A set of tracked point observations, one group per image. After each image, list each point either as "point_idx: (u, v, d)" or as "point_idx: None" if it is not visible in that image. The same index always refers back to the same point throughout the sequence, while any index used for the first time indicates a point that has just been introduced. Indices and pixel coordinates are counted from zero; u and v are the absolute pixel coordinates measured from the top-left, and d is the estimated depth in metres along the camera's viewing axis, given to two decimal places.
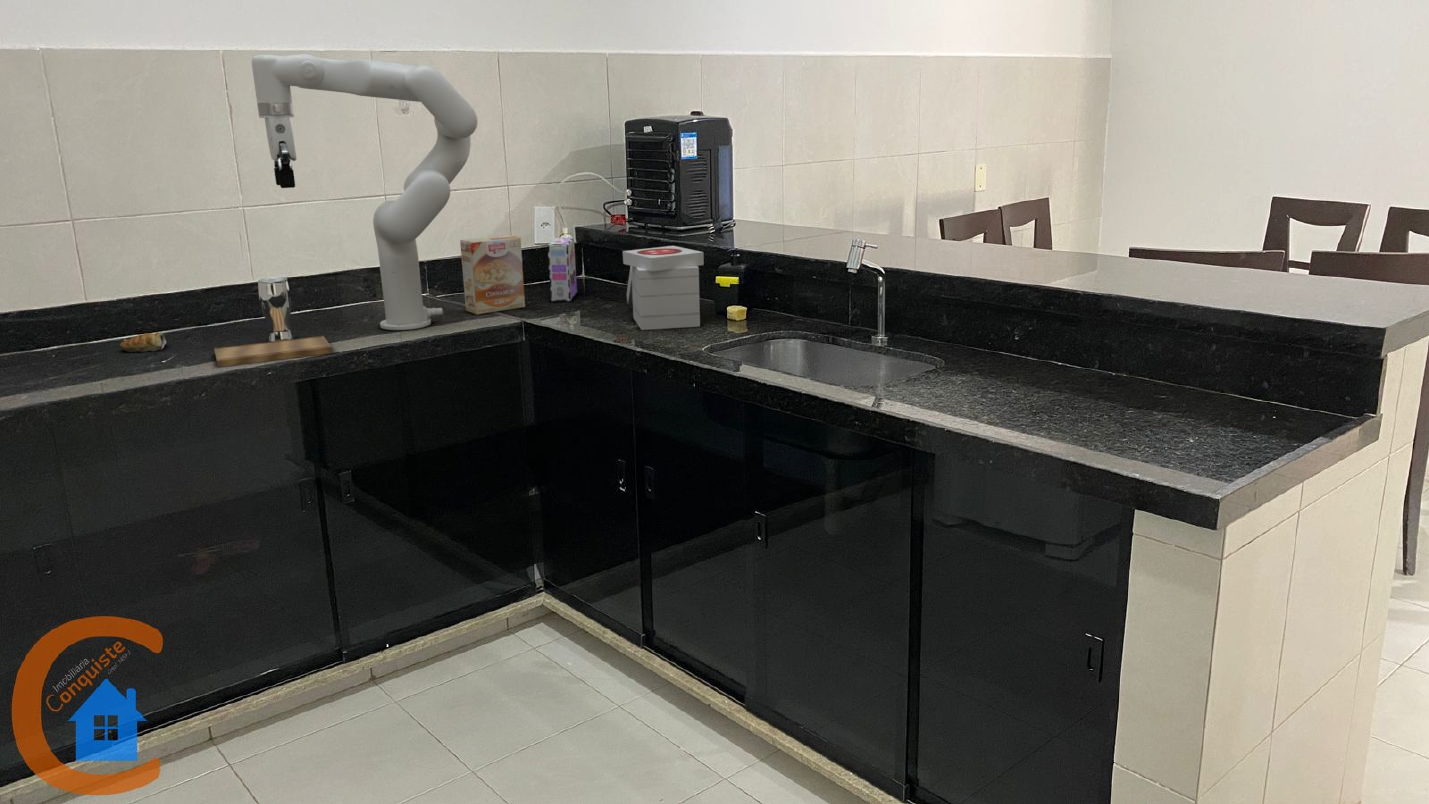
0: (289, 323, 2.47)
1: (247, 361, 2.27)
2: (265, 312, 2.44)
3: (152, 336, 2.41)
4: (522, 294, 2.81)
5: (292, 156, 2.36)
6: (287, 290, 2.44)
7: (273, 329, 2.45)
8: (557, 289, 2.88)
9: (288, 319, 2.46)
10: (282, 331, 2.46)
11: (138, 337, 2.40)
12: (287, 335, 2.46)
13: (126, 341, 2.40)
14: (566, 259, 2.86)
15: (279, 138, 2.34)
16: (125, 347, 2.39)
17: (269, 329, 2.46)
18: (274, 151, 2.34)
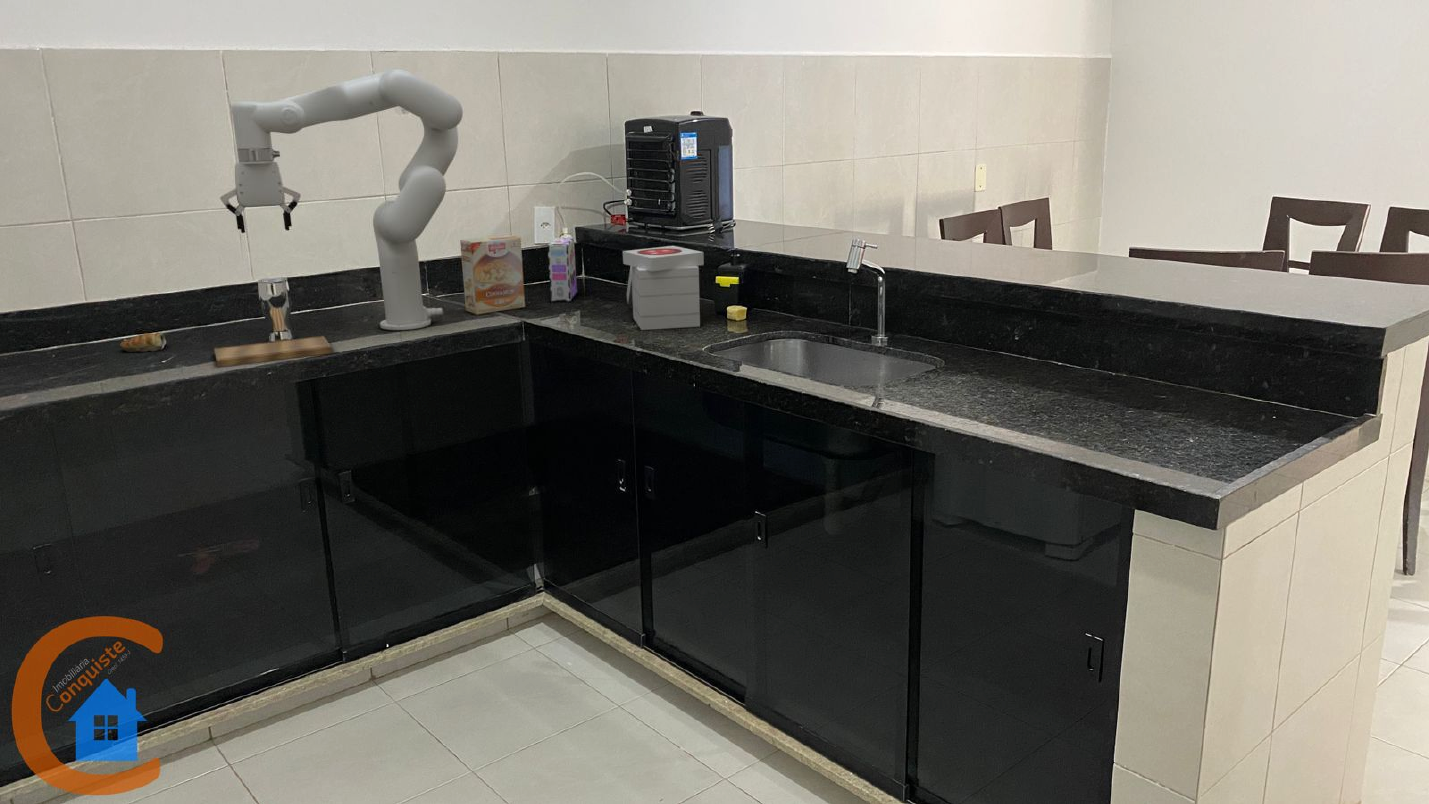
0: (289, 323, 2.47)
1: (247, 361, 2.27)
2: (265, 312, 2.44)
3: (152, 336, 2.41)
4: (522, 294, 2.81)
5: None
6: (287, 290, 2.44)
7: (273, 329, 2.45)
8: (557, 289, 2.88)
9: (288, 319, 2.46)
10: (282, 331, 2.46)
11: (138, 337, 2.40)
12: (287, 335, 2.46)
13: (126, 341, 2.40)
14: (566, 259, 2.86)
15: None
16: (125, 347, 2.39)
17: (269, 329, 2.46)
18: (283, 195, 2.39)
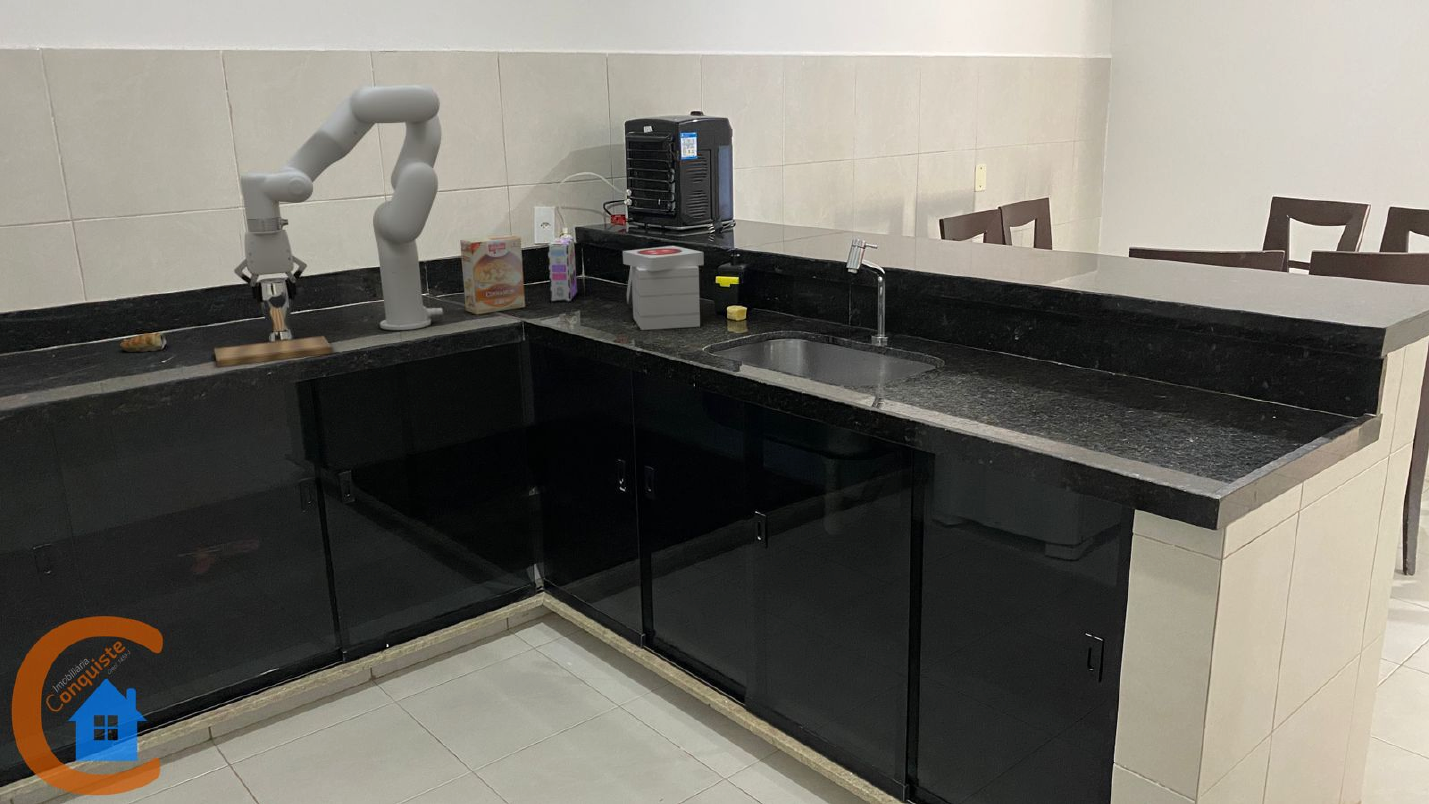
0: (289, 323, 2.47)
1: (247, 361, 2.27)
2: (265, 312, 2.44)
3: (152, 336, 2.41)
4: (522, 294, 2.81)
5: None
6: (287, 290, 2.44)
7: (273, 329, 2.45)
8: (557, 289, 2.88)
9: (288, 319, 2.46)
10: (282, 331, 2.46)
11: (138, 337, 2.40)
12: (287, 335, 2.46)
13: (126, 341, 2.40)
14: (566, 259, 2.86)
15: None
16: (125, 347, 2.39)
17: (269, 329, 2.46)
18: (292, 262, 2.43)
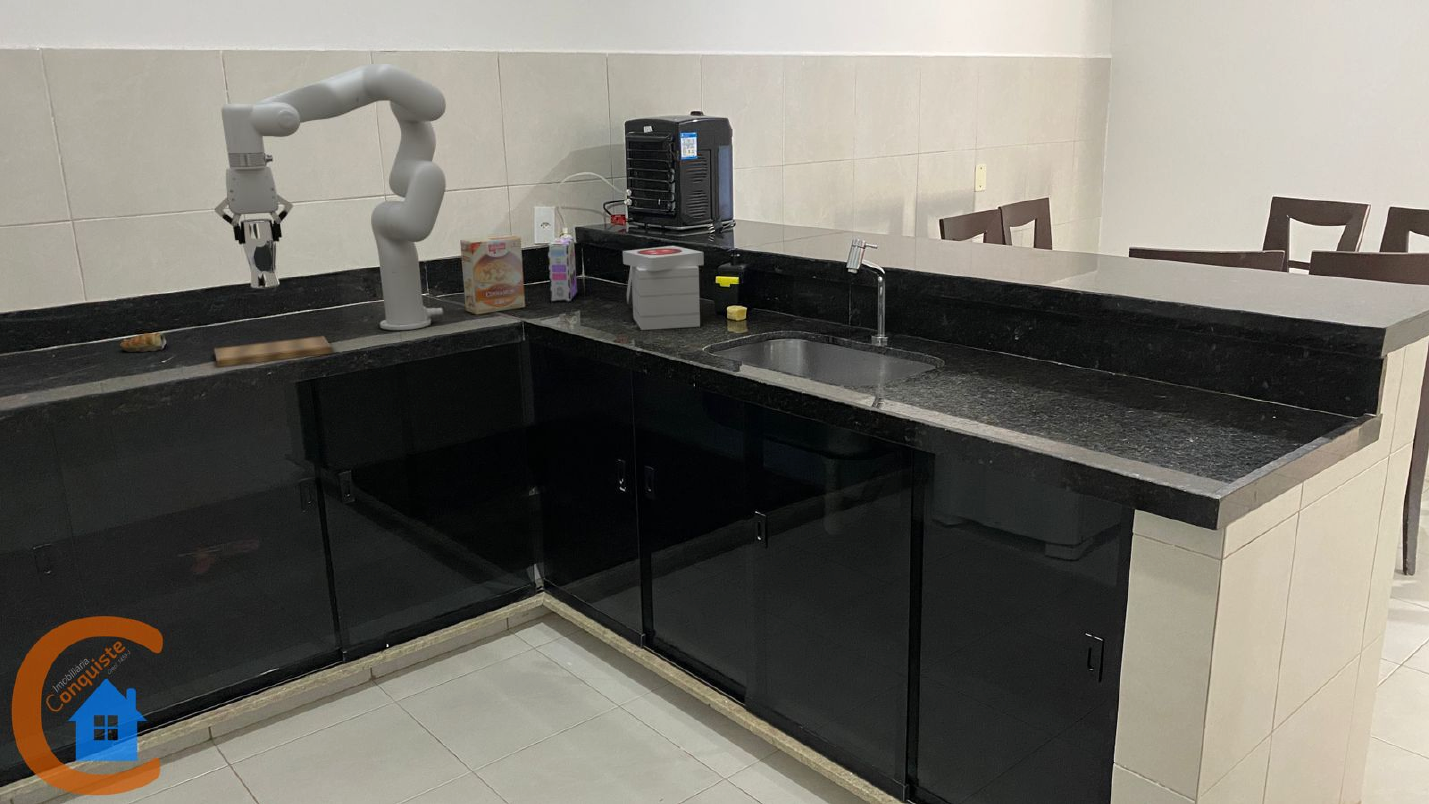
0: (274, 267, 2.32)
1: (247, 361, 2.27)
2: (248, 255, 2.29)
3: (152, 336, 2.41)
4: (522, 294, 2.81)
5: None
6: (271, 231, 2.29)
7: (256, 273, 2.30)
8: (557, 289, 2.88)
9: (272, 263, 2.31)
10: (266, 275, 2.31)
11: (138, 337, 2.40)
12: (271, 280, 2.31)
13: (126, 341, 2.40)
14: (566, 259, 2.86)
15: (275, 188, 2.29)
16: (125, 347, 2.39)
17: (252, 273, 2.30)
18: (276, 201, 2.28)
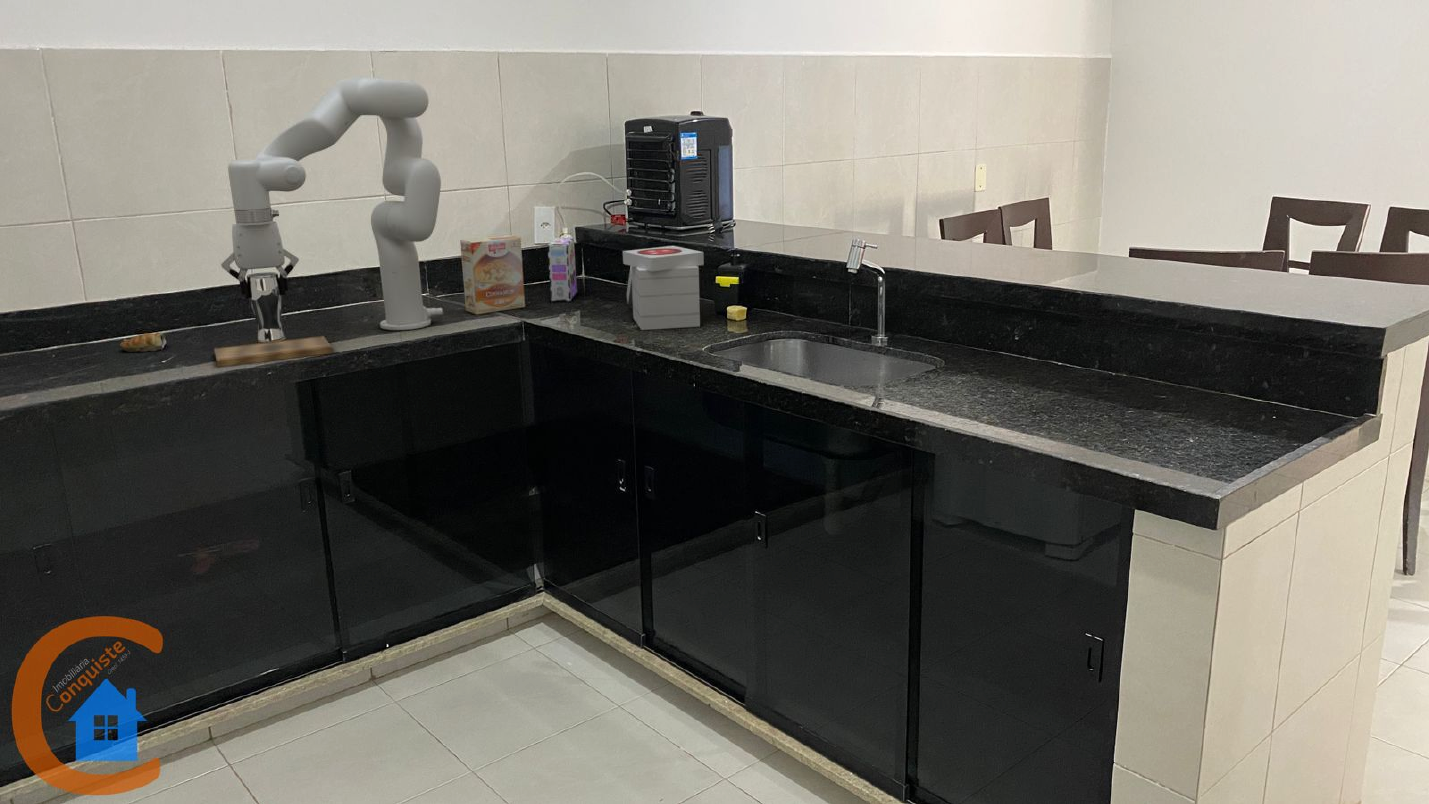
0: (280, 321, 2.33)
1: (247, 361, 2.27)
2: (254, 309, 2.29)
3: (152, 336, 2.41)
4: (522, 294, 2.81)
5: None
6: (278, 285, 2.30)
7: (263, 327, 2.31)
8: (557, 289, 2.88)
9: (279, 316, 2.32)
10: (272, 329, 2.31)
11: (138, 337, 2.40)
12: (278, 333, 2.32)
13: (126, 341, 2.40)
14: (566, 259, 2.86)
15: (281, 242, 2.30)
16: (125, 347, 2.39)
17: (258, 327, 2.31)
18: (283, 256, 2.29)
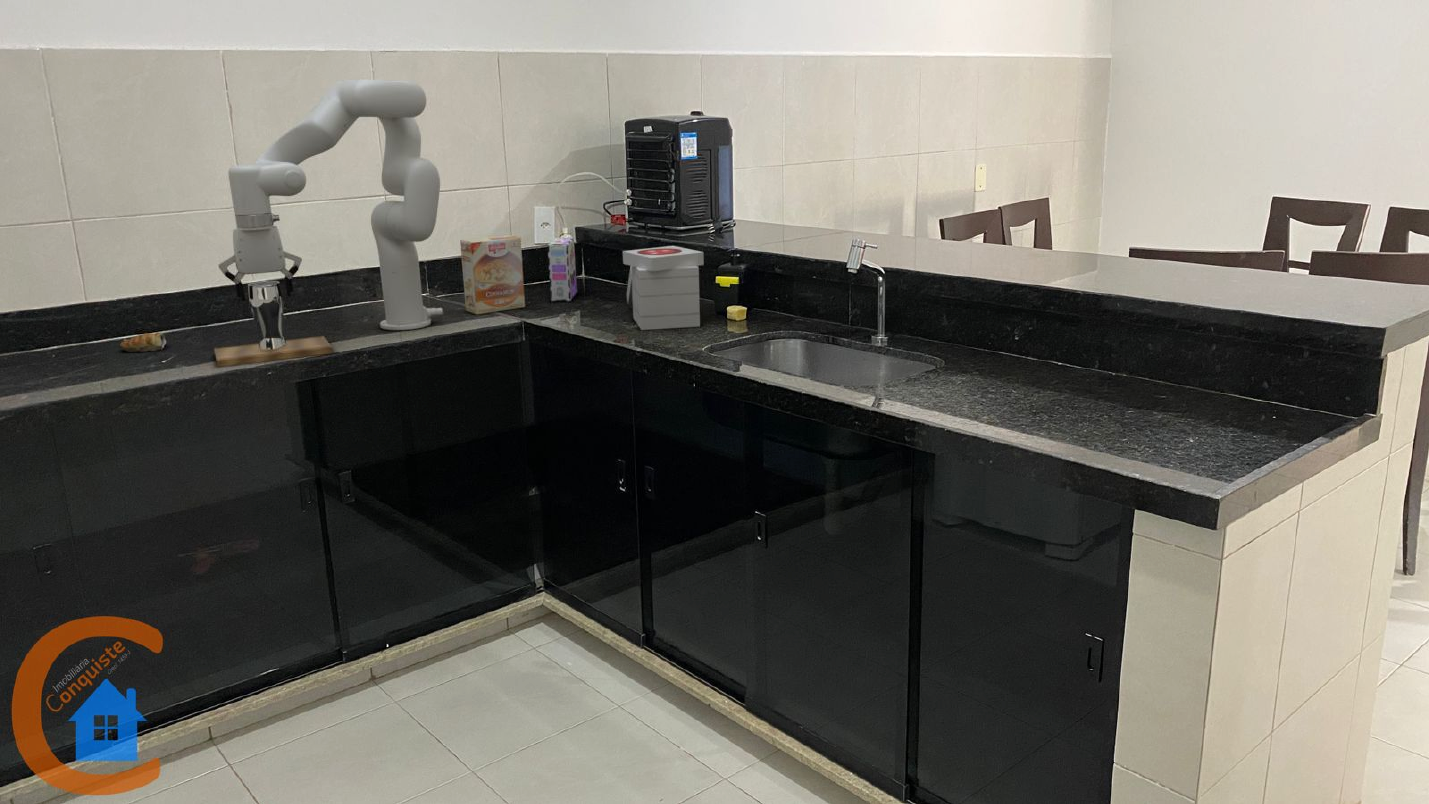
0: (281, 329, 2.33)
1: (247, 361, 2.27)
2: (256, 318, 2.30)
3: (152, 336, 2.41)
4: (522, 294, 2.81)
5: None
6: (279, 294, 2.31)
7: (264, 336, 2.31)
8: (557, 289, 2.88)
9: (280, 325, 2.33)
10: (274, 337, 2.32)
11: (138, 337, 2.40)
12: (279, 342, 2.33)
13: (126, 341, 2.40)
14: (566, 259, 2.86)
15: (282, 247, 2.30)
16: (125, 347, 2.39)
17: (260, 336, 2.32)
18: (284, 260, 2.30)
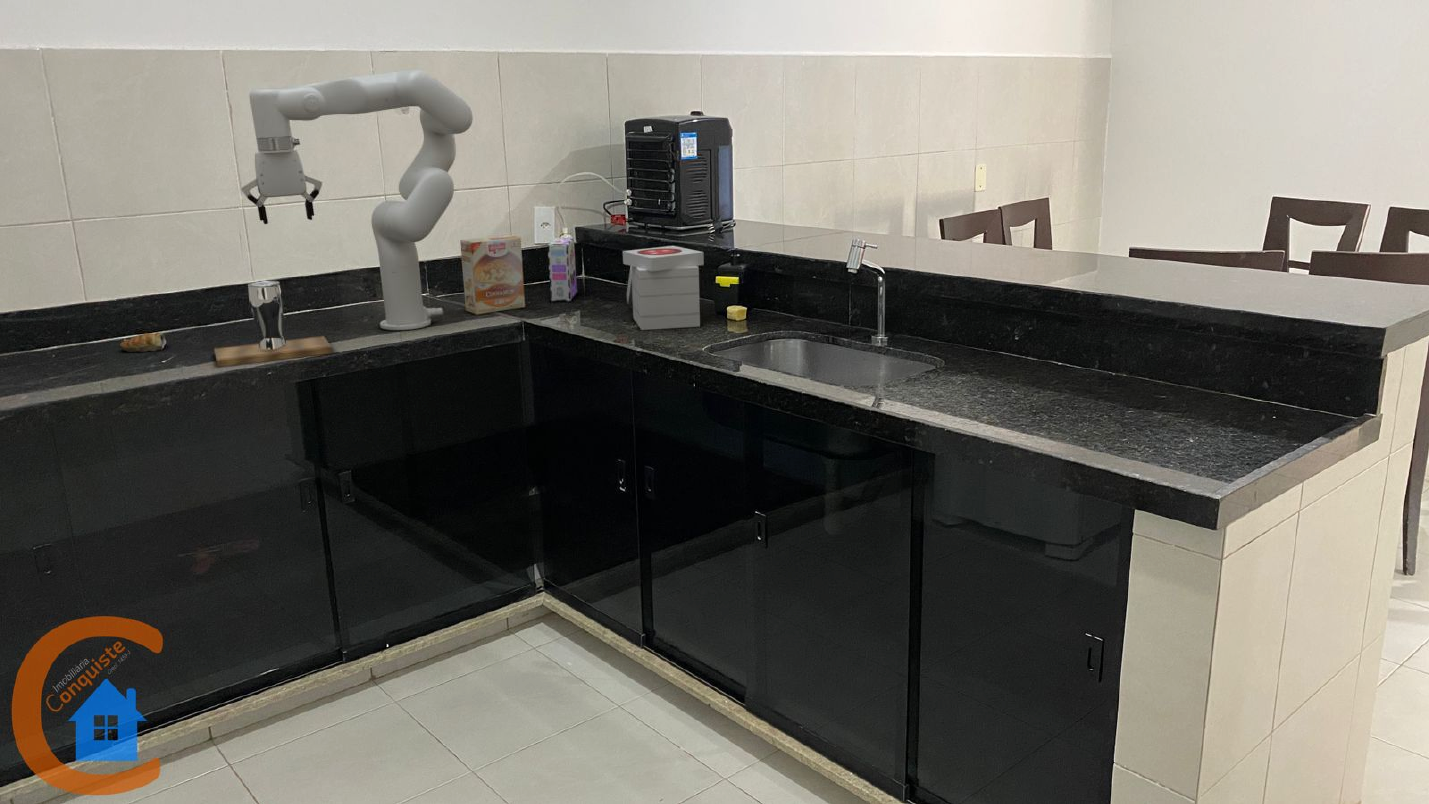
0: (281, 329, 2.33)
1: (247, 361, 2.27)
2: (256, 318, 2.30)
3: (152, 336, 2.41)
4: (522, 294, 2.81)
5: None
6: (279, 294, 2.31)
7: (264, 336, 2.31)
8: (557, 289, 2.88)
9: (280, 325, 2.33)
10: (274, 337, 2.32)
11: (138, 337, 2.40)
12: (279, 342, 2.33)
13: (126, 341, 2.40)
14: (566, 259, 2.86)
15: None
16: (125, 347, 2.39)
17: (260, 336, 2.32)
18: (305, 184, 2.34)
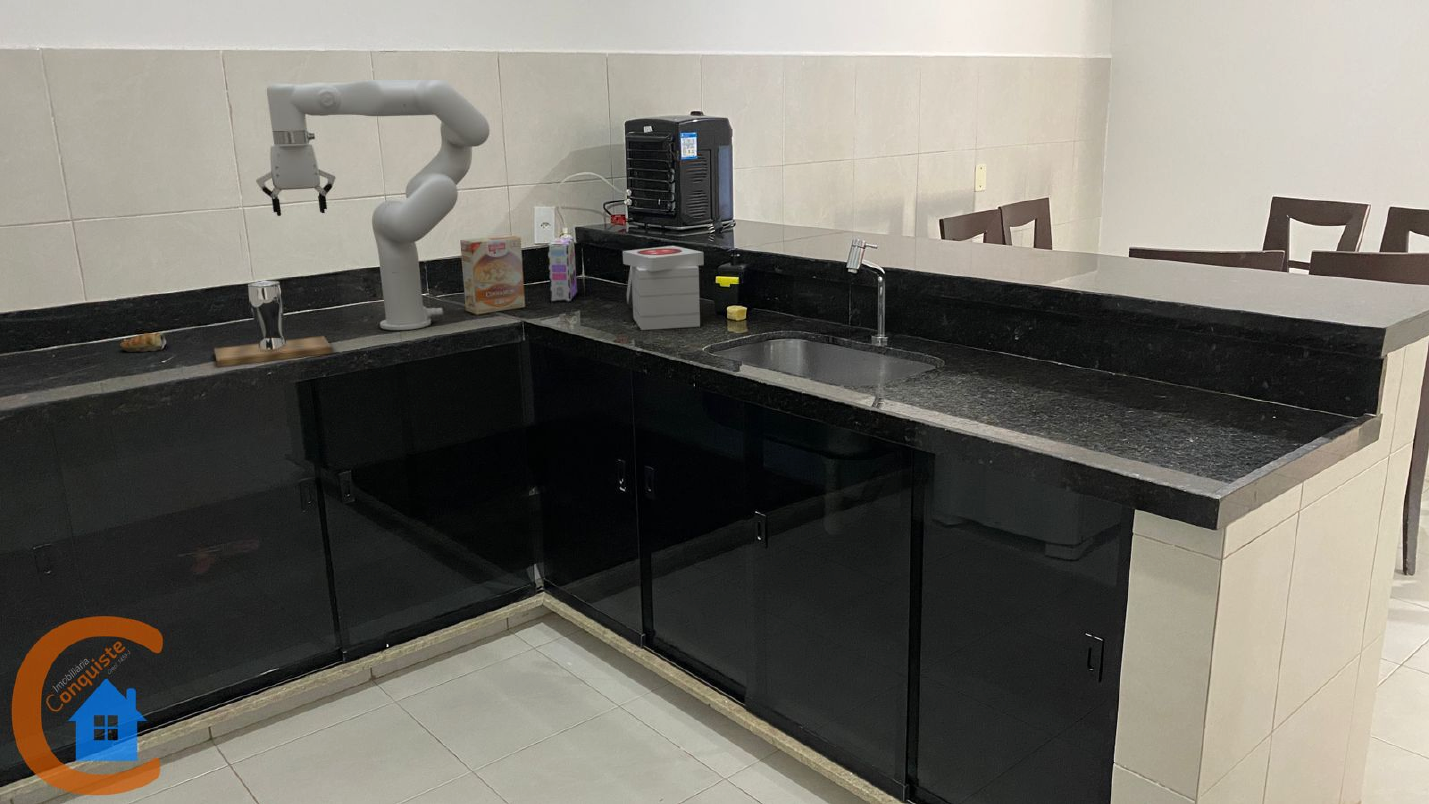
0: (281, 329, 2.33)
1: (247, 361, 2.27)
2: (256, 318, 2.30)
3: (152, 336, 2.41)
4: (522, 294, 2.81)
5: None
6: (279, 294, 2.31)
7: (264, 336, 2.31)
8: (557, 289, 2.88)
9: (280, 325, 2.33)
10: (274, 337, 2.32)
11: (138, 337, 2.40)
12: (279, 342, 2.33)
13: (126, 341, 2.40)
14: (566, 259, 2.86)
15: None
16: (125, 347, 2.39)
17: (260, 336, 2.32)
18: (318, 177, 2.39)
